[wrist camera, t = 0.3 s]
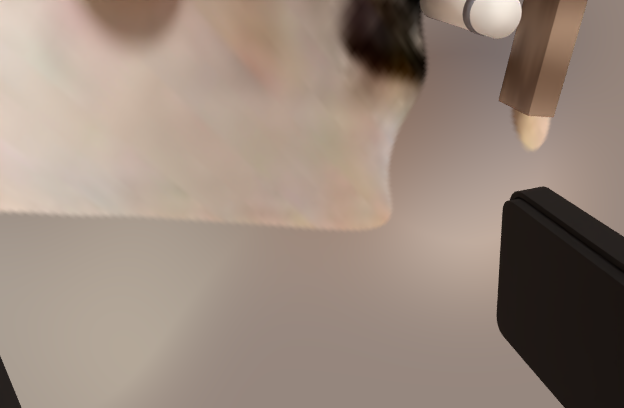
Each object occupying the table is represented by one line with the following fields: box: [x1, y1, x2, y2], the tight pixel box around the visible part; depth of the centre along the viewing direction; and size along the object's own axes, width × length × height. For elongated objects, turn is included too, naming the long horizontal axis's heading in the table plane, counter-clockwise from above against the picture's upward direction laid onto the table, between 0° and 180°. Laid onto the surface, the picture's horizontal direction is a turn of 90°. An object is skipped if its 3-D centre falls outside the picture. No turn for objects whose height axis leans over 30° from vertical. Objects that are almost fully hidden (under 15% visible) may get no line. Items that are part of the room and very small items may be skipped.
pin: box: [420, 0, 522, 39], centre depth 35 cm, size 2×2×8 cm
